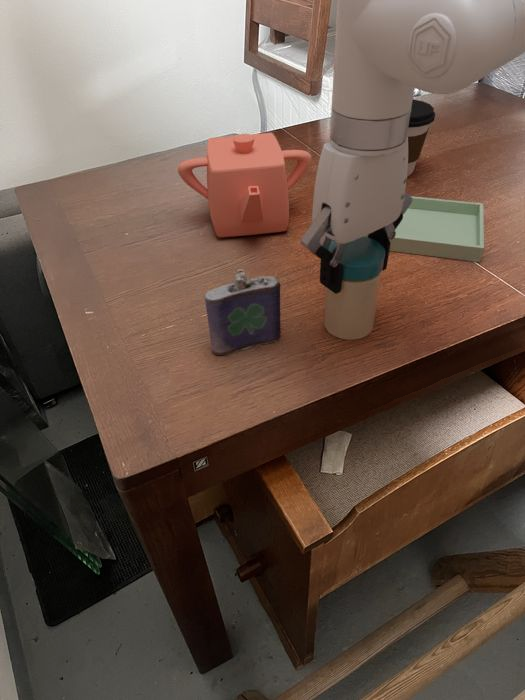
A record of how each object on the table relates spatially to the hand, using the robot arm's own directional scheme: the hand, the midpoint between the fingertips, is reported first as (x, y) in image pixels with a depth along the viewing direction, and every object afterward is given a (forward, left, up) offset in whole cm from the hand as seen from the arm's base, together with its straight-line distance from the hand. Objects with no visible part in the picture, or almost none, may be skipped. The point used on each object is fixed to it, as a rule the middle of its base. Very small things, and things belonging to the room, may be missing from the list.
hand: (353, 275), depth 62 cm
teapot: (+21, -22, -8) cm, 31 cm away
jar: (0, 0, -8) cm, 8 cm away
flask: (+12, +7, -8) cm, 16 cm away
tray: (-7, -26, -8) cm, 28 cm away
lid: (0, 0, +3) cm, 3 cm away
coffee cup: (-1, -48, -8) cm, 49 cm away
